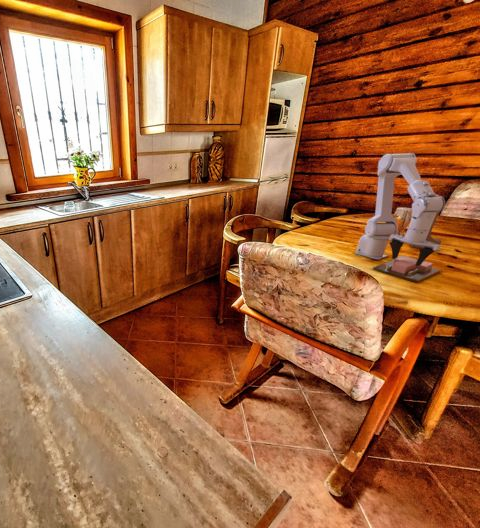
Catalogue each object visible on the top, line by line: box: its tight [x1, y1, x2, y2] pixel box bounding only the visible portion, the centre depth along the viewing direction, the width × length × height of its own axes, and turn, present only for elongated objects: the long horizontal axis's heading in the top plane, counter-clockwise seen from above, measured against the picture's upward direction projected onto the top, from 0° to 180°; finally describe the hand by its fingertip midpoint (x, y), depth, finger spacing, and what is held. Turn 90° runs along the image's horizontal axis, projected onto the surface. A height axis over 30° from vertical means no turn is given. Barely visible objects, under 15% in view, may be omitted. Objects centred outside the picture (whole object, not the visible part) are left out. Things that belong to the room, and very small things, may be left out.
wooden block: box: [410, 212, 442, 251], centre depth 129 cm, size 9×4×18 cm, turn 49°
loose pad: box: [391, 260, 416, 274], centre depth 111 cm, size 4×7×3 cm, turn 112°
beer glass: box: [392, 206, 413, 236], centre depth 146 cm, size 7×7×15 cm
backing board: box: [373, 255, 441, 284], centre depth 112 cm, size 14×18×4 cm
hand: (405, 261), depth 110 cm, fingers open, 7 cm apart
